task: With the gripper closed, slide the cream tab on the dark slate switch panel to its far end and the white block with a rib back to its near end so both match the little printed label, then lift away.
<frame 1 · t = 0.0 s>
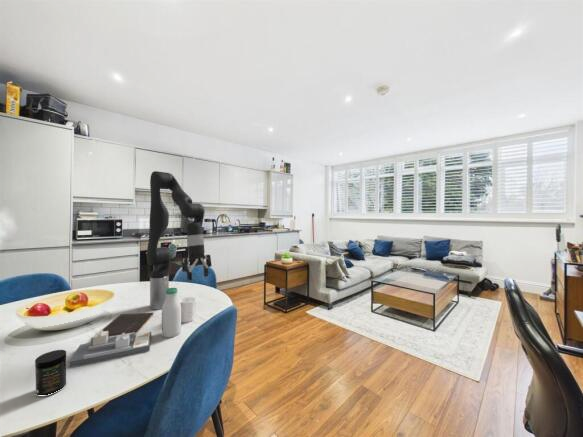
hand: (198, 278, 117), 22 cm above the table, tool pointing down, fingers open, 8 cm apart
white block with rib: (122, 340, 94), point 4 cm above the table, slide at 8.0 cm
switch panel: (114, 350, 95), on the table
supplement container: (51, 390, 74), on the table
cream tab: (100, 338, 95), point 4 cm above the table, slide at 0.0 cm
milk bottle: (171, 334, 108), on the table
hardcover book: (126, 328, 113), on the table
white cup: (187, 320, 122), on the table
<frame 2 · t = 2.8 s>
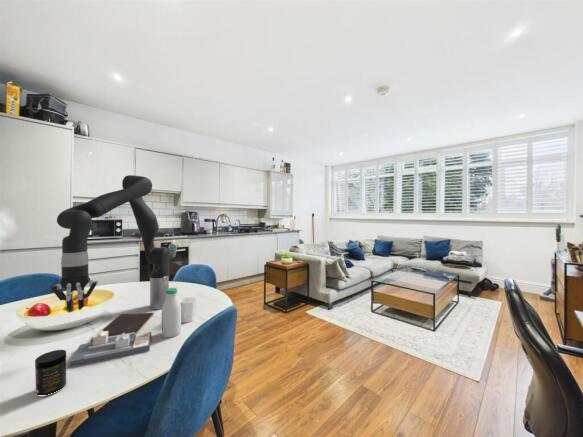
hand: (75, 309, 92), 17 cm above the table, tool pointing down, fingers closed
nothing on the table moved.
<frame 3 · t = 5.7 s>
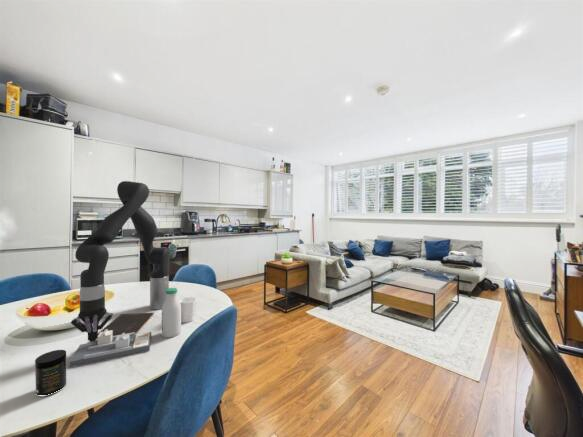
hand: (92, 340, 94), 4 cm above the table, tool pointing down, fingers closed
cream tab: (105, 337, 96), point 4 cm above the table, slide at 1.4 cm, touching gripper
everything else where it was.
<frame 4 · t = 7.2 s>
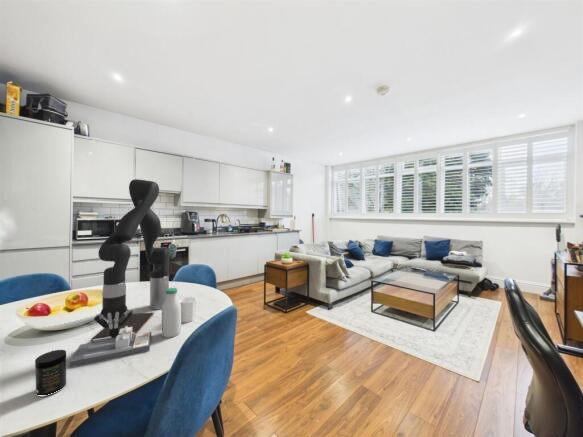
hand: (114, 336, 97), 4 cm above the table, tool pointing down, fingers closed
cream tab: (125, 333, 99), point 4 cm above the table, slide at 8.1 cm, touching gripper
everything else where it was.
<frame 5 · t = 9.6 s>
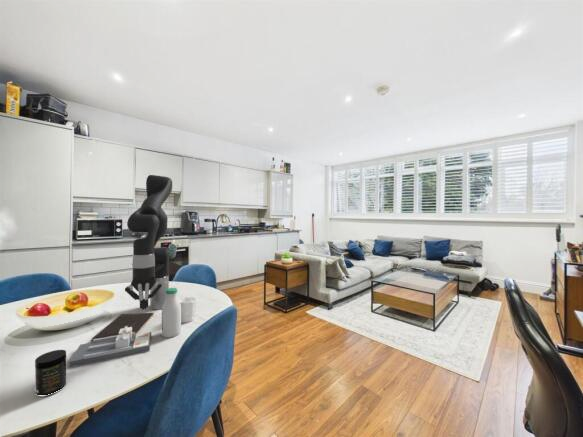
hand: (144, 308, 96), 16 cm above the table, tool pointing down, fingers closed
cream tab: (125, 333, 99), point 4 cm above the table, slide at 8.1 cm
everything else where it was.
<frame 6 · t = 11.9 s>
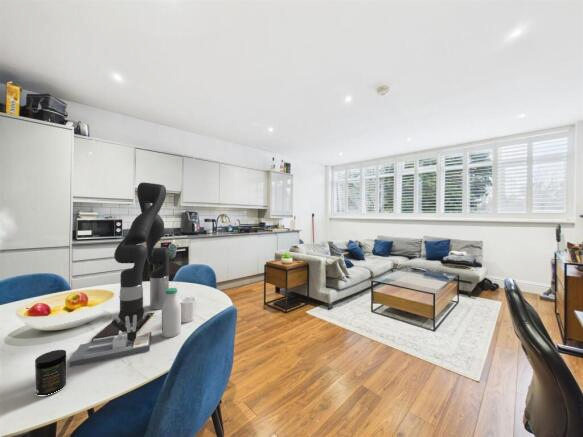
hand: (131, 340, 95), 4 cm above the table, tool pointing down, fingers closed
white block with rib: (120, 341, 93), point 4 cm above the table, slide at 7.1 cm, touching gripper
everything else where it was.
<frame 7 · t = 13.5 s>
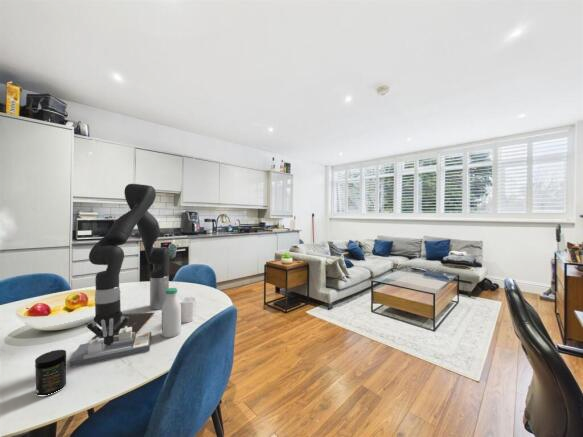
hand: (109, 344, 92), 4 cm above the table, tool pointing down, fingers closed
white block with rib: (96, 345, 90), point 4 cm above the table, slide at -0.1 cm, touching gripper
everything else where it was.
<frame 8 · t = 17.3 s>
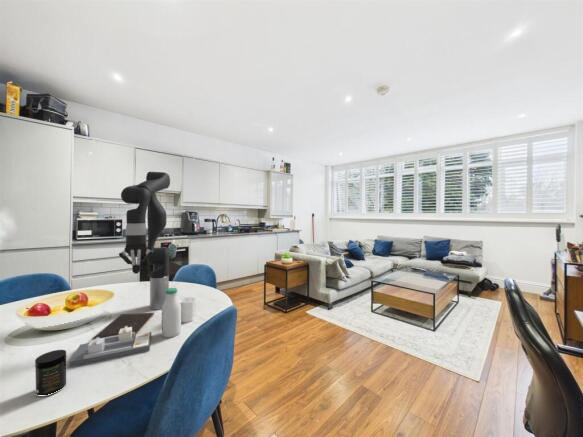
hand: (136, 273, 107), 27 cm above the table, tool pointing down, fingers closed
white block with rib: (96, 345, 90), point 4 cm above the table, slide at -0.1 cm
everything else where it was.
at the end: cream tab slide at 8.1 cm; white block with rib slide at -0.1 cm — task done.
